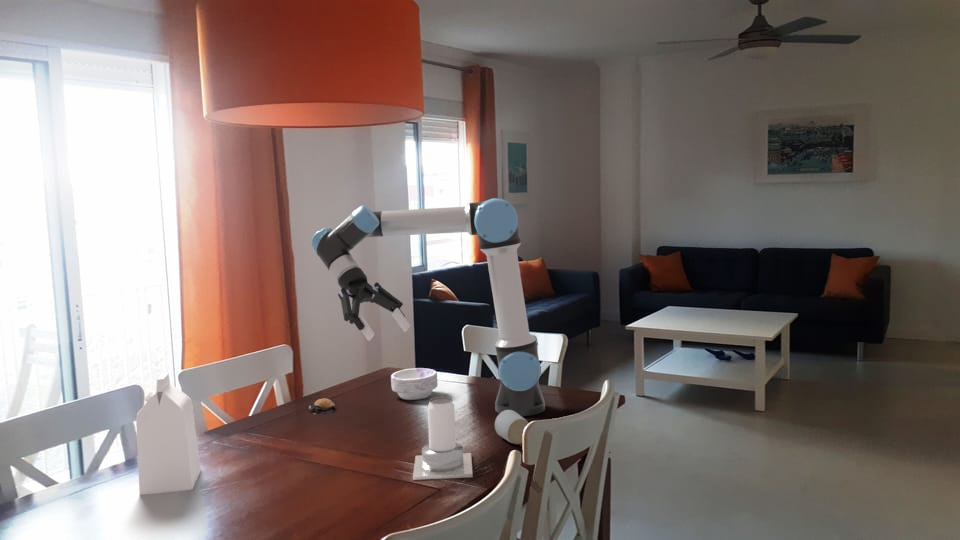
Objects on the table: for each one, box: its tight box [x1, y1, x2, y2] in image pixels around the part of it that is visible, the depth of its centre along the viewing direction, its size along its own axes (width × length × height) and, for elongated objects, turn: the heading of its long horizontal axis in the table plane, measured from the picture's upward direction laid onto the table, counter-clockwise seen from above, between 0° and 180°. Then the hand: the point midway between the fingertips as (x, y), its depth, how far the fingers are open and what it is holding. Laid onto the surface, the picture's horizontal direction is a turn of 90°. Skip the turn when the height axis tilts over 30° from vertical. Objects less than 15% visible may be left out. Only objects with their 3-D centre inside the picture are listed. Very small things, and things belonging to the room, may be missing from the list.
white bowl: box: [390, 367, 438, 401], centre depth 245 cm, size 15×15×8 cm
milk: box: [135, 372, 202, 496], centre depth 176 cm, size 12×12×26 cm
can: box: [427, 396, 457, 452], centre depth 180 cm, size 6×6×12 cm
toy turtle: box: [308, 398, 338, 416], centre depth 234 cm, size 11×8×4 cm
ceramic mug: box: [494, 410, 529, 445], centre depth 199 cm, size 11×8×8 cm
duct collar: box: [412, 442, 473, 481], centre depth 181 cm, size 14×14×5 cm
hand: (390, 333), depth 199 cm, fingers open, 13 cm apart
